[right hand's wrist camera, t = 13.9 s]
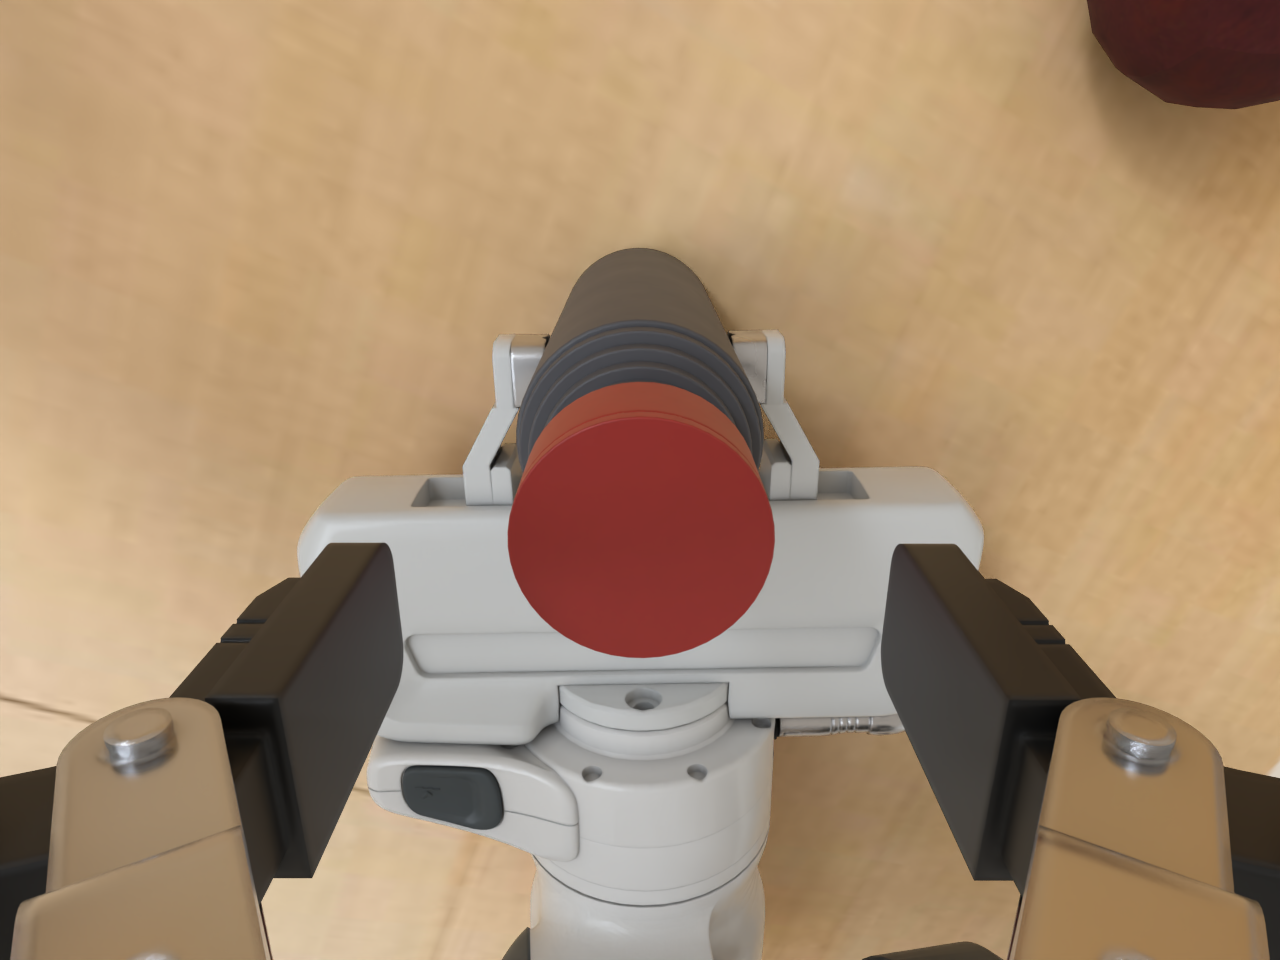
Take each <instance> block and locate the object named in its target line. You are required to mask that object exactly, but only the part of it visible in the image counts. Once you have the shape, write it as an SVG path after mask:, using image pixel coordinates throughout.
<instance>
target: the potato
mask: <svg viewBox="0 0 1280 960" xmlns="http://www.w3.org/2000/svg"><path fill="white" fill-rule="evenodd" d="M1087 3H1088V9H1089V15H1090V21H1091V27H1092V33H1093V34H1094V36H1095V37H1096V39H1097V40H1098V42H1099V43H1100V45H1101V46H1102V48H1103V49H1104V51H1105V52H1106V54H1107V55H1108V57H1109V58H1110V60H1111V61H1112V63H1113V64H1114V66H1115V67H1116V68H1117V69H1118V70H1119V71H1121V72H1122V73H1123V74H1124V75H1126V76H1127V77H1129V78H1130V79H1132V80H1133V81H1135V82H1136V83H1138V84H1139V85H1141V86H1142V87H1144V88H1145V89H1147V90H1148V91H1150V92H1151V93H1153V94H1154V95H1156V96H1157V97H1159V98H1160V99H1162V100H1163V101H1165V102H1168V103H1174V104H1180V105H1187V106H1193V107H1205V108H1223V109H1238V108H1243V107H1248V106H1253V105H1258V104H1263V103H1268V102H1273V101H1278V100H1280V0H1087Z"/></svg>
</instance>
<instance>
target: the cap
mask: <svg viewBox="0 0 1280 960" xmlns="http://www.w3.org/2000/svg"><path fill="white" fill-rule="evenodd" d="M507 535H508V552H509V558H510V563H511V567H512V570H513V573H514V576H515V579H516V581H517V583H518V585H519V587H520V589H521V591H522V593H523V595H524V596H525V598H526V599H527V601H528V602H529V604H530V605H531V606H532V608H533V609H534V610H535V611H536V612H537V613H538V615H539V616H540V617H541V618H542V619H543V620H544V621H545V622H546V623H548V624H549V625H550V626H551V627H552V628H553V629H555V630H556V631H558V632H559V633H560V634H562V635H563V636H565V637H566V638H568V639H570V640H572V641H574V642H575V643H577V644H579V645H581V646H584V647H586V648H589V649H592V650H594V651H597V652H601V653H605V654H609V655H613V656H620V657H627V658H653V657H663V656H668V655H673V654H678V653H681V652H684V651H687V650H691V649H693V648H696V647H698V646H700V645H702V644H705V643H707V642H709V641H710V640H712V639H714V638H715V637H717V636H719V635H720V634H722V633H723V632H724V631H726V630H727V629H728V628H730V627H731V626H732V625H734V624H735V623H736V622H737V621H738V620H739V619H740V618H741V617H742V616H743V615H744V614H745V613H746V611H747V610H748V609H749V608H750V606H751V605H752V604H753V602H754V601H755V600H756V598H757V596H758V595H759V593H760V591H761V590H762V588H763V586H764V583H765V581H766V579H767V576H768V574H769V571H770V567H771V564H772V560H773V555H774V546H775V525H774V520H773V514H772V509H771V506H770V503H769V500H768V497H767V494H766V491H765V489H764V486H763V483H762V481H761V478H760V475H759V473H758V470H757V467H756V465H755V462H754V459H753V457H752V454H751V451H750V449H749V447H748V445H747V443H746V441H745V439H744V438H743V436H742V435H741V433H740V432H739V430H738V429H737V427H736V426H735V425H734V424H733V423H732V422H731V421H730V419H729V418H728V417H727V416H726V415H725V414H724V413H722V412H721V411H720V410H719V409H718V408H716V407H715V406H714V405H713V404H711V403H710V402H708V401H706V400H705V399H703V398H702V397H700V396H698V395H696V394H693V393H691V392H689V391H687V390H684V389H681V388H678V387H674V386H671V385H666V384H660V383H654V382H630V383H621V384H616V385H611V386H607V387H604V388H601V389H598V390H595V391H592V392H590V393H588V394H586V395H584V396H582V397H580V398H578V399H577V400H575V401H574V402H572V403H571V404H569V405H568V406H566V407H565V408H564V409H563V410H561V411H560V412H559V413H558V414H557V415H556V416H555V417H554V418H553V419H552V420H551V421H550V422H549V423H548V425H547V426H546V427H545V428H544V429H543V431H542V432H541V434H540V436H539V437H538V439H537V440H536V442H535V444H534V446H533V449H532V451H531V453H530V455H529V458H528V461H527V464H526V467H525V469H524V472H523V475H522V478H521V481H520V484H519V487H518V489H517V493H516V495H515V498H514V501H513V505H512V508H511V512H510V515H509V523H508V531H507Z"/></svg>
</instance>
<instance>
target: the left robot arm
mask: <svg viewBox="0 0 1280 960" xmlns="http://www.w3.org/2000/svg"><path fill="white" fill-rule="evenodd" d="M727 336H728V338H729V340H730V342H731V344H732V346H733V348H734V351H735V353H736V355H737V357H738V359H739V361H740V363H741V365H742V367H743V369H744V371H745V373H746V375H747V377H748V379H749V381H750V384H751V386H752V388H753V390H754V392H755V394H756V397H757V400H758V403H760V405H761V407H762V408H763V410H764V412H765V414H766V415H767V417H768V419H769V421H770V423H771V424H772V426H773V428H774V430H775V431H776V433H777V435H778V437H779V438H780V442H779V441H778V440H777V439H765V440H764V444H763V453H762V459H761V463H760V469H759V471H758V473H759V475H760V478H761V481H762V483H763V486H764V489H765V491H766V494H767V497H768V500H769V503H770V506H771V509H772V514H773V520H774V525H775V546H774V555H773V560H772V564H771V567H770V571H769V574H768V576H767V579H766V581H765V583H764V586H763V588H762V590H761V591H760V593H759V595H758V596H757V598H756V600H755V601H754V602H753V604H752V605H751V606H750V608H749V609H748V610H747V611H746V613H745V614H744V615H743V616H742V617H741V618H740V619H739V620H738V621H737V622H736V623H735V624H734V625H732V626H731V627H730V628H728V629H727V630H726V631H724V632H723V633H722V634H720V635H719V636H717V637H715V638H714V639H712V640H710V641H709V642H707V643H705V644H702V645H700V646H698V647H696V648H693V649H691V650H687V651H684V652H681V653H678V654H673V655H668V656H663V657H653V658H627V657H620V656H613V655H609V654H605V653H601V652H597V651H594V650H592V649H589V648H586V647H584V646H581V645H579V644H577V643H575V642H574V641H572V640H570V639H568V638H566V637H565V636H563V635H562V634H560V633H559V632H558V631H556V630H555V629H553V628H552V627H551V626H550V625H549V624H548V623H546V622H545V621H544V620H543V619H542V618H541V617H540V616H539V615H538V613H537V612H536V611H535V610H534V609H533V608H532V606H531V605H530V604H529V602H528V601H527V599H526V598H525V596H524V595H523V593H522V591H521V589H520V587H519V585H518V583H517V581H516V579H515V576H514V573H513V570H512V567H511V563H510V558H509V552H508V535H507V531H508V523H509V515H510V512H511V508H512V505H513V501H514V498H515V495H516V493H517V489H518V487H519V484H520V481H521V478H522V475H523V473H522V470H521V467H520V463H519V459H518V452H517V446H516V443H505V444H504V445H503V446H502V447H501V443H502V441H503V439H504V437H505V435H506V433H507V431H508V429H509V427H510V425H511V423H512V421H513V420H514V418H515V416H516V414H517V412H518V410H519V408H520V407H521V403H522V399H523V397H524V395H525V392H526V390H527V388H528V385H529V383H530V381H531V379H532V377H533V374H534V372H535V370H536V368H537V366H538V364H539V361H540V359H541V357H542V355H543V353H544V350H545V348H546V346H547V344H548V342H549V339H550V335H549V334H504V335H498V337H497V338H496V340H495V341H494V343H493V356H492V361H493V373H494V385H495V397H496V402H495V404H494V406H493V407H492V409H491V411H490V413H489V415H488V417H487V419H486V421H485V423H484V425H483V427H482V429H481V431H480V433H479V435H478V437H477V439H476V441H475V443H474V445H473V447H472V449H471V451H470V453H469V455H468V457H467V459H466V461H465V463H464V465H463V474H449V475H389V476H355V477H351V478H348V479H347V480H345V481H343V482H342V483H341V484H340V485H339V486H338V487H337V488H336V489H335V490H334V491H333V492H332V493H331V494H330V495H329V496H328V497H327V498H326V499H325V500H324V501H323V502H322V503H321V504H320V506H319V507H318V508H317V509H316V511H315V512H314V513H313V515H312V516H311V517H310V519H309V520H308V522H307V523H306V525H305V527H304V529H303V530H302V532H301V535H300V538H299V541H298V546H297V558H298V566H299V573H300V578H301V577H302V575H303V574H304V573H305V572H306V570H307V569H308V568H309V567H310V565H311V564H312V563H313V562H314V560H315V559H316V558H317V557H318V555H319V554H320V553H321V552H322V550H323V549H324V548H325V547H326V546H327V545H328V544H329V543H386V544H388V546H389V547H390V550H391V552H392V556H393V562H394V570H395V579H396V587H397V595H398V603H399V612H400V620H401V628H402V637H403V668H402V675H401V679H400V683H399V686H398V689H397V691H396V694H395V696H394V698H393V700H392V702H391V705H390V707H389V709H388V711H387V714H386V716H385V718H384V720H383V722H382V725H381V727H380V729H379V731H378V733H377V736H376V738H375V740H374V742H373V746H372V750H371V754H370V758H369V762H368V767H367V783H368V789H369V792H370V795H371V797H372V799H373V800H374V802H375V803H376V804H377V805H378V806H380V807H381V808H383V809H385V810H387V811H390V812H392V813H396V814H399V815H403V816H407V817H412V818H416V819H420V820H425V821H429V822H433V823H437V824H442V825H446V826H450V827H453V828H457V829H461V830H465V831H468V832H472V833H475V834H478V835H482V836H485V837H488V838H491V839H494V840H497V841H500V842H503V843H506V844H508V845H511V846H513V847H516V848H518V849H521V850H523V851H526V852H528V853H530V854H531V856H532V858H533V860H534V863H535V865H536V869H537V870H536V873H535V876H534V880H533V884H532V889H531V896H530V924H531V929H530V928H528V927H527V928H526V929H525V930H524V931H523V932H522V933H521V934H520V935H519V937H518V938H517V939H516V940H515V941H514V943H513V944H512V945H511V947H510V948H509V950H508V951H507V953H506V954H505V956H504V957H503V959H502V960H762V950H763V939H764V926H765V896H764V888H763V883H762V879H761V876H760V872H759V870H758V867H757V866H758V864H759V862H760V859H761V857H762V854H763V852H764V849H765V846H766V843H767V838H768V833H769V827H770V813H771V793H772V774H773V757H774V749H773V745H774V739H776V738H777V737H783V736H784V737H796V736H826V735H830V734H831V735H834V734H838V733H839V734H840V733H846V732H847V733H853V732H855V733H860V732H866V733H867V734H870V735H890V734H896V733H901V732H904V731H905V729H904V727H903V725H902V722H901V720H900V718H899V716H898V714H897V712H896V709H895V707H894V705H893V703H892V701H891V698H890V696H889V694H888V692H887V689H886V687H885V683H884V679H883V674H882V667H881V640H882V632H883V624H884V615H885V607H886V599H887V591H888V583H889V575H890V566H891V560H892V555H893V552H894V549H895V548H896V546H897V545H898V544H956V545H957V546H958V547H959V548H960V549H961V550H962V552H963V553H964V554H965V555H966V557H967V558H968V559H969V560H970V561H971V563H972V564H973V565H974V566H975V568H976V569H977V570H979V566H980V562H981V557H982V551H983V545H984V531H983V527H982V524H981V522H980V520H979V518H978V516H977V515H976V513H975V512H974V510H973V509H972V507H971V506H970V505H969V504H968V502H967V501H966V500H965V498H964V497H963V496H962V495H961V494H960V493H959V492H958V491H957V490H956V489H955V488H954V487H953V486H952V485H951V484H950V483H949V482H948V481H947V480H946V479H945V478H944V477H943V476H941V475H940V474H939V473H938V472H937V471H935V470H934V469H931V468H929V467H919V466H914V467H858V468H819V462H820V461H819V459H818V457H817V456H816V454H815V452H814V450H813V448H812V446H811V445H810V443H809V441H808V439H807V437H806V435H805V434H804V432H803V430H802V428H801V426H800V424H799V423H798V421H797V419H796V417H795V415H794V413H793V412H792V410H791V408H790V406H789V404H788V403H787V401H786V399H785V397H784V380H785V358H786V349H785V340H784V336H783V335H782V334H781V333H780V331H779V330H740V331H728V334H727ZM862 960H1003V959H1001V958H1000V957H998V956H997V955H995V954H994V953H992V952H991V951H989V950H988V949H986V948H984V947H982V946H980V945H978V944H975V943H972V942H958V943H951V944H945V945H939V946H932V947H926V948H920V949H913V950H907V951H901V952H894V953H888V954H882V955H875V956H870V957H867V958H864V959H862Z"/></svg>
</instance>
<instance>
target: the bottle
mask: <svg viewBox="0 0 1280 960" xmlns="http://www.w3.org/2000/svg"><path fill="white" fill-rule="evenodd" d="M630 382H654V383H660V384H666V385H671V386H674V387H678V388H681V389H684V390H687V391H689V392H691V393H693V394H696V395H698V396H700V397H702V398H703V399H705V400H706V401H708V402H710V403H711V404H713V405H714V406H715V407H716V408H718V409H719V410H720V411H721V412H722V413H724V414H725V415H726V416H727V417H728V418H729V419H730V421H731V422H732V423H733V424H734V425H735V426H736V427H737V429H738V430H739V432H740V433H741V435H742V436H743V438H744V439H745V441H746V443H747V445H748V447H749V449H750V451H751V454H752V457H753V459H754V462H755V465H756V467H757V470H758V471H759V467H760V463H761V459H762V453H763V444H764V430H763V420H762V414H761V409H760V406H759V403H758V400H757V397H756V394H755V392H754V390H753V388H752V386H751V384H750V381H749V379H748V377H747V375H746V373H745V371H744V369H743V367H742V365H741V363H740V361H739V359H738V357H737V355H736V353H735V351H734V348H733V346H732V344H731V342H730V340H729V338H728V336H727V334H726V332H725V330H724V328H723V326H722V324H721V322H720V320H719V318H718V315H717V313H716V311H715V309H714V307H713V305H712V303H711V301H710V299H709V297H708V295H707V293H706V291H705V289H704V287H703V285H702V283H701V282H700V280H699V279H698V277H697V276H696V275H695V274H694V273H693V271H692V270H691V269H690V268H688V267H687V266H686V265H685V264H684V263H682V262H681V261H679V260H678V259H676V258H675V257H673V256H671V255H669V254H667V253H664V252H660V251H657V250H652V249H647V248H632V249H625V250H620V251H617V252H614V253H611V254H609V255H607V256H605V257H603V258H601V259H599V260H598V261H596V262H595V263H594V264H592V265H591V266H590V267H589V268H588V269H587V270H586V271H585V272H584V273H583V274H582V275H581V277H580V278H579V279H578V281H577V282H576V284H575V286H574V287H573V289H572V291H571V293H570V296H569V298H568V300H567V302H566V304H565V307H564V309H563V311H562V313H561V315H560V318H559V320H558V322H557V324H556V326H555V328H554V331H553V333H552V335H551V337H550V339H549V342H548V344H547V346H546V348H545V350H544V353H543V355H542V357H541V359H540V361H539V364H538V366H537V368H536V370H535V372H534V374H533V377H532V379H531V381H530V383H529V385H528V388H527V390H526V392H525V395H524V397H523V399H522V403H521V407H520V410H519V414H518V421H517V428H516V446H517V452H518V459H519V463H520V467H521V470H522V473H523V472H524V469H525V467H526V464H527V461H528V458H529V455H530V453H531V451H532V449H533V446H534V444H535V442H536V440H537V439H538V437H539V436H540V434H541V432H542V431H543V429H544V428H545V427H546V426H547V425H548V423H549V422H550V421H551V420H552V419H553V418H554V417H555V416H556V415H557V414H558V413H559V412H560V411H561V410H563V409H564V408H565V407H566V406H568V405H569V404H571V403H572V402H574V401H575V400H577V399H578V398H580V397H582V396H584V395H586V394H588V393H590V392H592V391H595V390H598V389H601V388H604V387H607V386H611V385H616V384H621V383H630Z"/></svg>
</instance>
